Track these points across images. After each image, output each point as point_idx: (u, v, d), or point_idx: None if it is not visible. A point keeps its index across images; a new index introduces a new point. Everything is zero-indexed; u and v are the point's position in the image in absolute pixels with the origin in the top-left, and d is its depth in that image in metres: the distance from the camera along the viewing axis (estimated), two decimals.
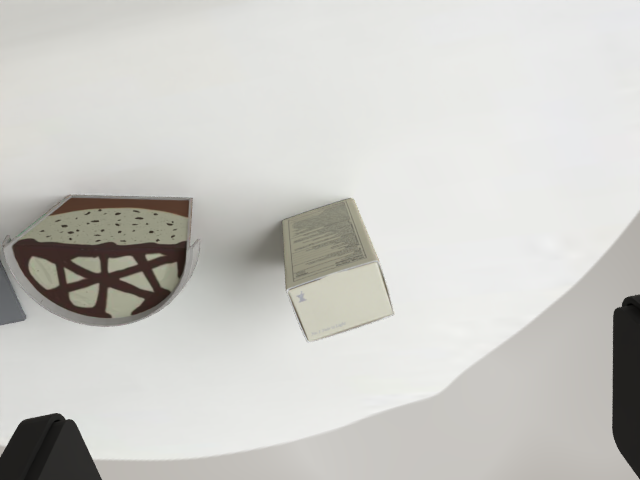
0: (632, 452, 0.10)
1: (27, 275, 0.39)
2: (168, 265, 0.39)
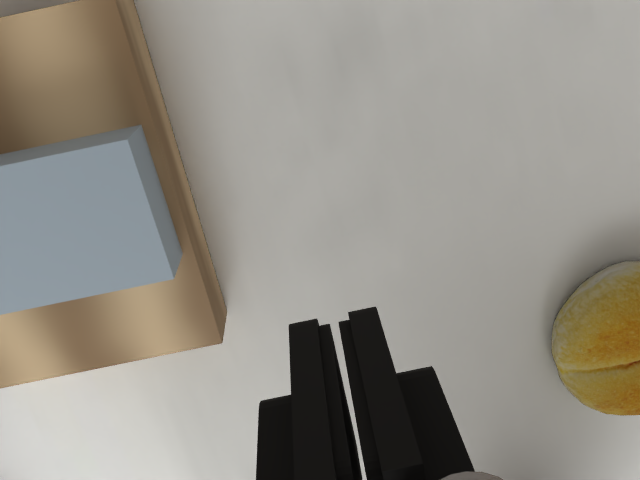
0: None
1: None
2: None
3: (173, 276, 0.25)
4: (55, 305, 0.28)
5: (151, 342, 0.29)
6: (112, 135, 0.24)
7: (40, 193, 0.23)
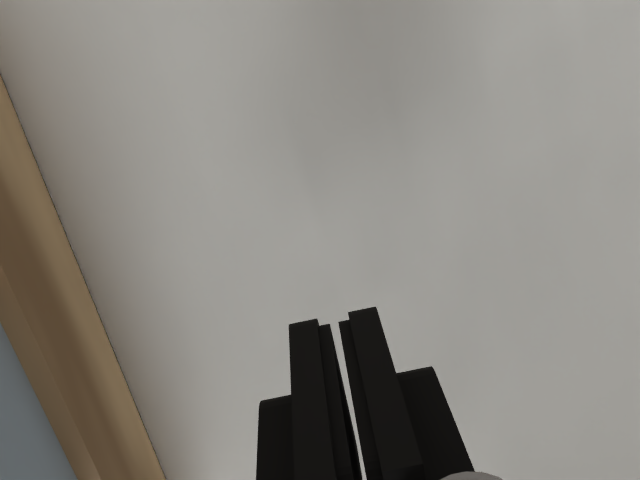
0: None
1: None
2: None
3: None
4: None
5: None
6: None
7: None
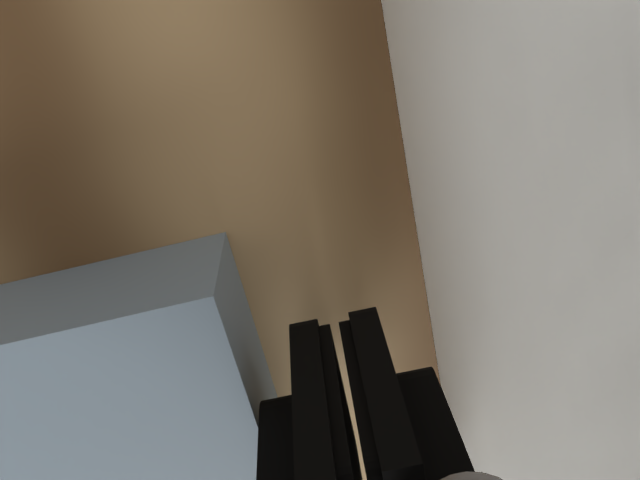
0: None
1: None
2: None
3: None
4: None
5: None
6: (168, 267, 0.10)
7: (5, 418, 0.10)
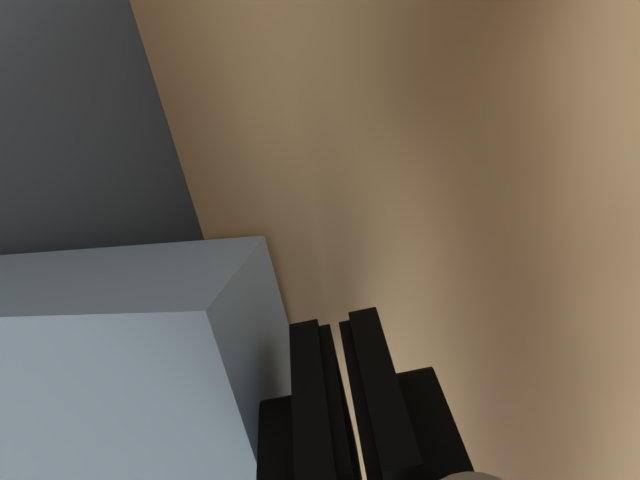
0: None
1: None
2: None
3: None
4: (499, 467, 0.14)
5: None
6: (193, 266, 0.10)
7: (35, 379, 0.11)
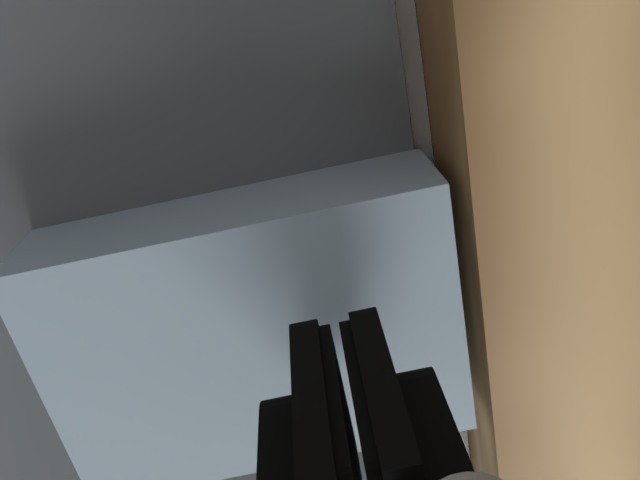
0: None
1: None
2: None
3: (475, 423, 0.14)
4: None
5: None
6: (386, 171, 0.13)
7: (263, 285, 0.12)
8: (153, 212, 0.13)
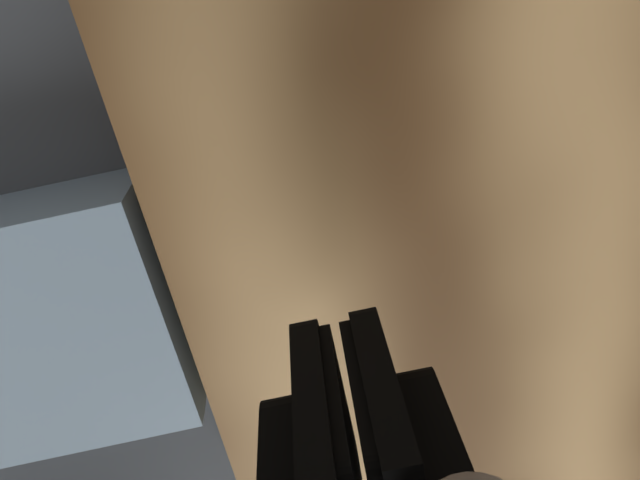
0: None
1: None
2: None
3: (201, 421, 0.15)
4: None
5: (572, 475, 0.16)
6: (93, 187, 0.13)
7: None
8: None
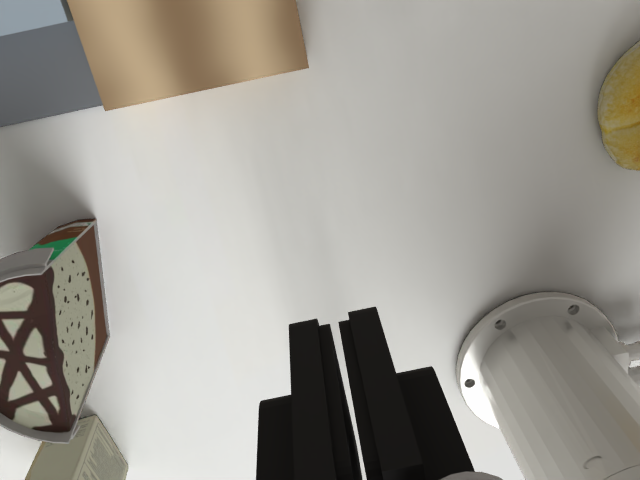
0: None
1: (5, 281, 0.32)
2: (45, 414, 0.36)
3: (67, 19, 0.33)
4: (172, 24, 0.33)
5: (249, 65, 0.34)
6: None
7: None
8: None
